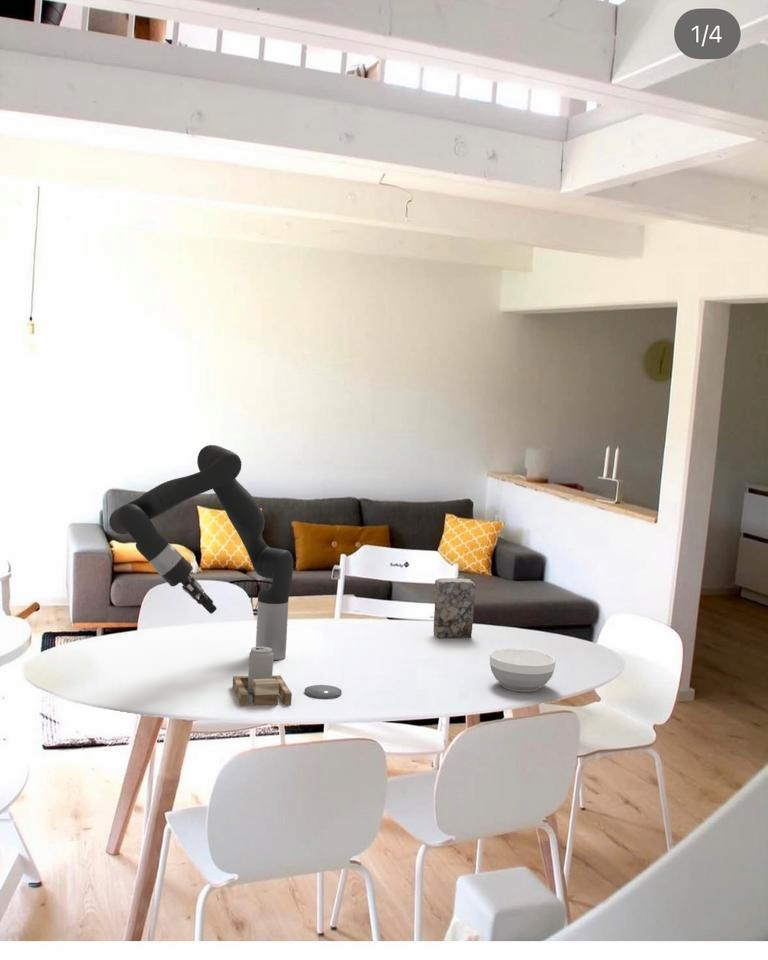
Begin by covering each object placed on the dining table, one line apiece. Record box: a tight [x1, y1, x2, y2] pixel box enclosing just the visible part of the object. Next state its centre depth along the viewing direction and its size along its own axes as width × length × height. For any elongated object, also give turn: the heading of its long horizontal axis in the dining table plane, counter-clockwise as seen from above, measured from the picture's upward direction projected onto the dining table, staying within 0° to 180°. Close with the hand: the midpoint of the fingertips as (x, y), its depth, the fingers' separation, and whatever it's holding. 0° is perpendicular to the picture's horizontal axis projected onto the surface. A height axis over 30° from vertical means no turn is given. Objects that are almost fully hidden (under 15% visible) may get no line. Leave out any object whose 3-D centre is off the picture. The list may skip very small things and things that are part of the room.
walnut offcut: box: [252, 692, 279, 707], centre depth 265 cm, size 4×6×3 cm, turn 105°
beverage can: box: [247, 646, 274, 695], centre depth 273 cm, size 6×6×12 cm
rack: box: [232, 674, 293, 707], centre depth 271 cm, size 17×13×3 cm
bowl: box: [489, 648, 557, 693], centre depth 294 cm, size 19×19×9 cm
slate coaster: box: [304, 684, 343, 700], centre depth 277 cm, size 10×10×1 cm
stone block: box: [433, 577, 477, 639], centre depth 351 cm, size 13×7×20 cm, turn 109°
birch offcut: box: [252, 679, 279, 695], centre depth 265 cm, size 4×6×3 cm, turn 109°
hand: (212, 608), depth 271 cm, fingers open, 8 cm apart
